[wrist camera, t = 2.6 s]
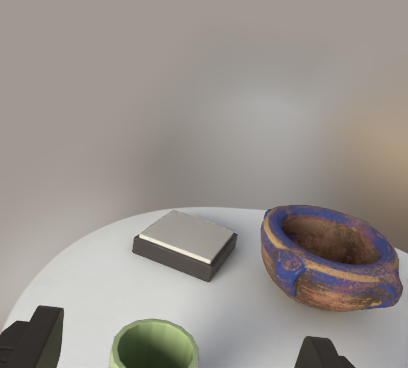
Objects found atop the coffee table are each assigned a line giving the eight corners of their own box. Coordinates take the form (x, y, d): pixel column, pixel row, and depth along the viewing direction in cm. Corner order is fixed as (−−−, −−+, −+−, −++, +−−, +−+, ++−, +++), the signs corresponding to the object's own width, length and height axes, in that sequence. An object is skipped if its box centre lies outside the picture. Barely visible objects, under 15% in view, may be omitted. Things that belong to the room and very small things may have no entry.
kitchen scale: (131, 252, 55) (134, 233, 54) (169, 223, 65) (172, 207, 64) (208, 282, 51) (213, 263, 50) (234, 247, 62) (238, 230, 61)
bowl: (245, 316, 46) (265, 243, 43) (251, 247, 63) (265, 191, 59) (396, 355, 44) (429, 283, 41) (360, 274, 61) (381, 218, 58)
